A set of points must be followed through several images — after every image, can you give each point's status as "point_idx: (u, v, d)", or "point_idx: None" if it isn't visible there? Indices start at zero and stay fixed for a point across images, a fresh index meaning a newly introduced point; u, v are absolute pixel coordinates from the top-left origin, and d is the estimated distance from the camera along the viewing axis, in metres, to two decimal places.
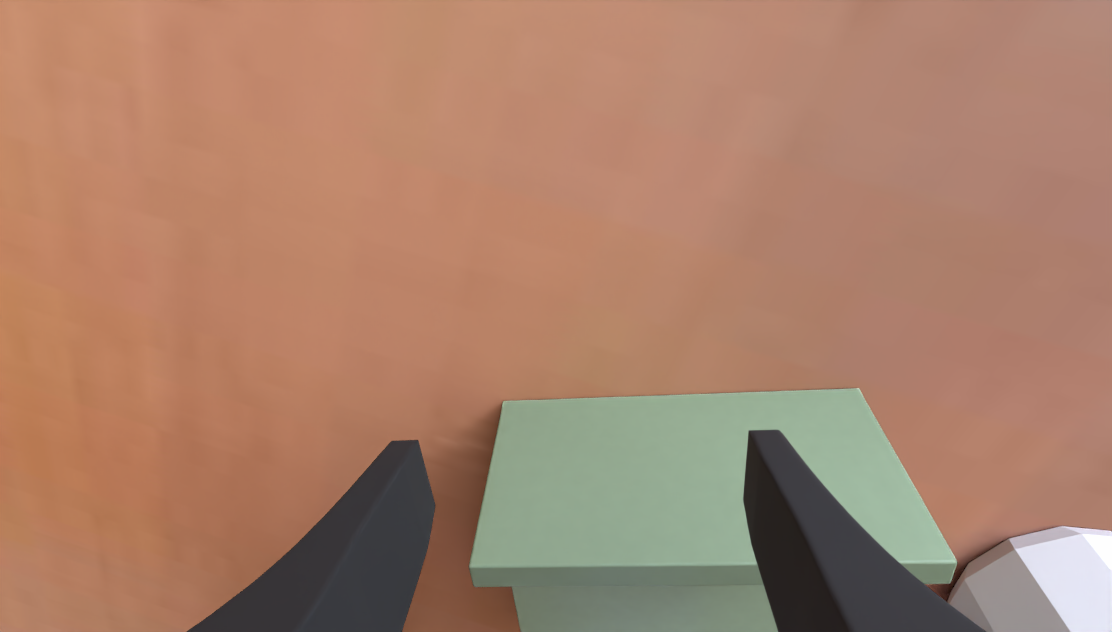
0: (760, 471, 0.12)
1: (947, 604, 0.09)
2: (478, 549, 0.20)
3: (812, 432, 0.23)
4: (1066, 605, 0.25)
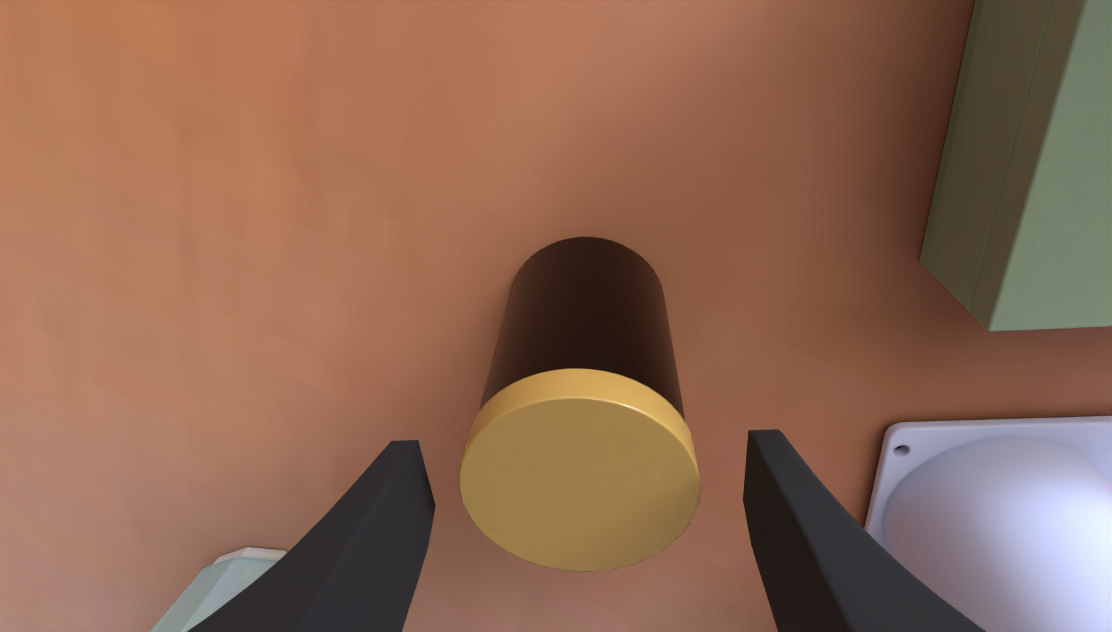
0: (760, 471, 0.12)
1: (947, 604, 0.09)
2: None
3: None
4: None
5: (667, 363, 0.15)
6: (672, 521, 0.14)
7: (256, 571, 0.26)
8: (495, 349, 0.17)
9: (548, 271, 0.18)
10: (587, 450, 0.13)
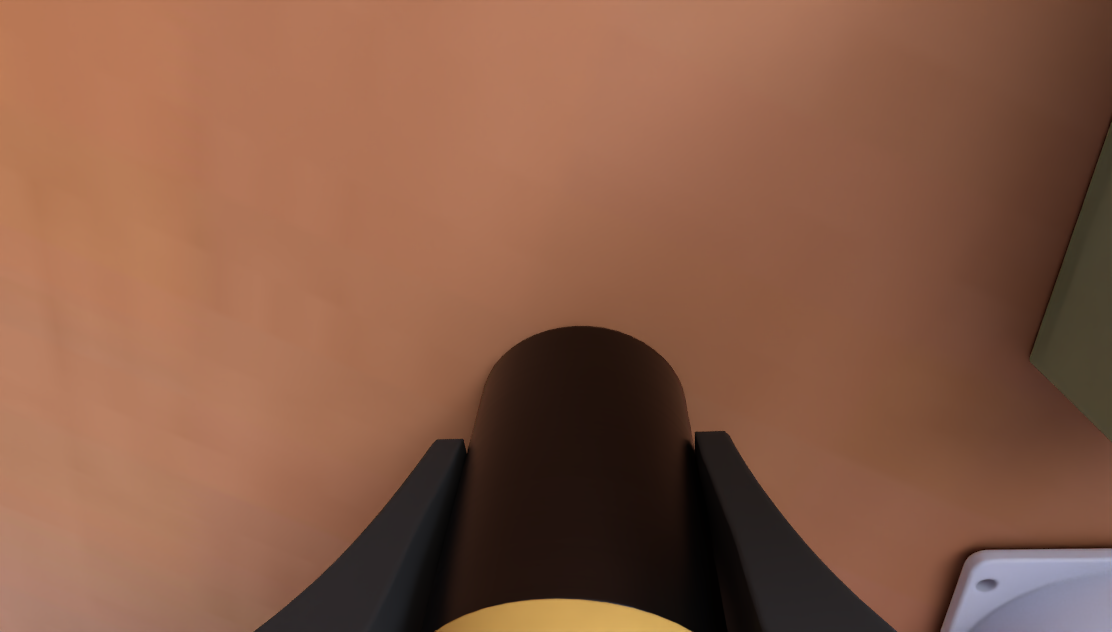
0: (702, 472, 0.12)
1: (863, 604, 0.09)
2: None
3: None
4: None
5: (700, 544, 0.10)
6: None
7: None
8: (455, 500, 0.12)
9: (530, 383, 0.13)
10: None
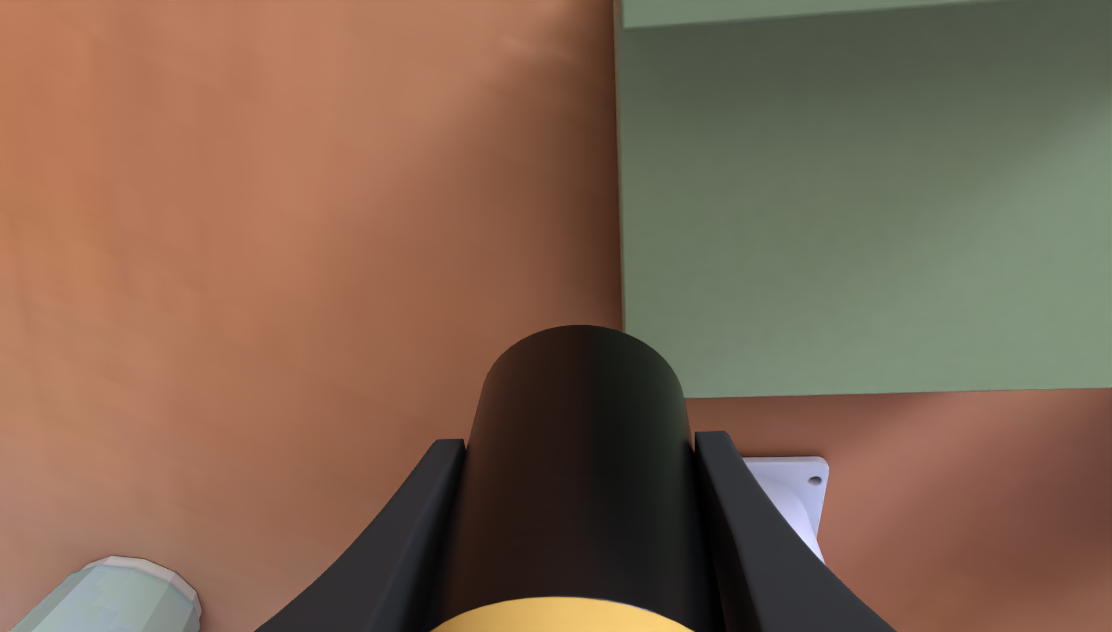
0: (702, 472, 0.12)
1: (862, 604, 0.09)
2: None
3: None
4: None
5: (699, 542, 0.10)
6: None
7: (113, 577, 0.30)
8: (453, 499, 0.12)
9: (529, 381, 0.13)
10: None
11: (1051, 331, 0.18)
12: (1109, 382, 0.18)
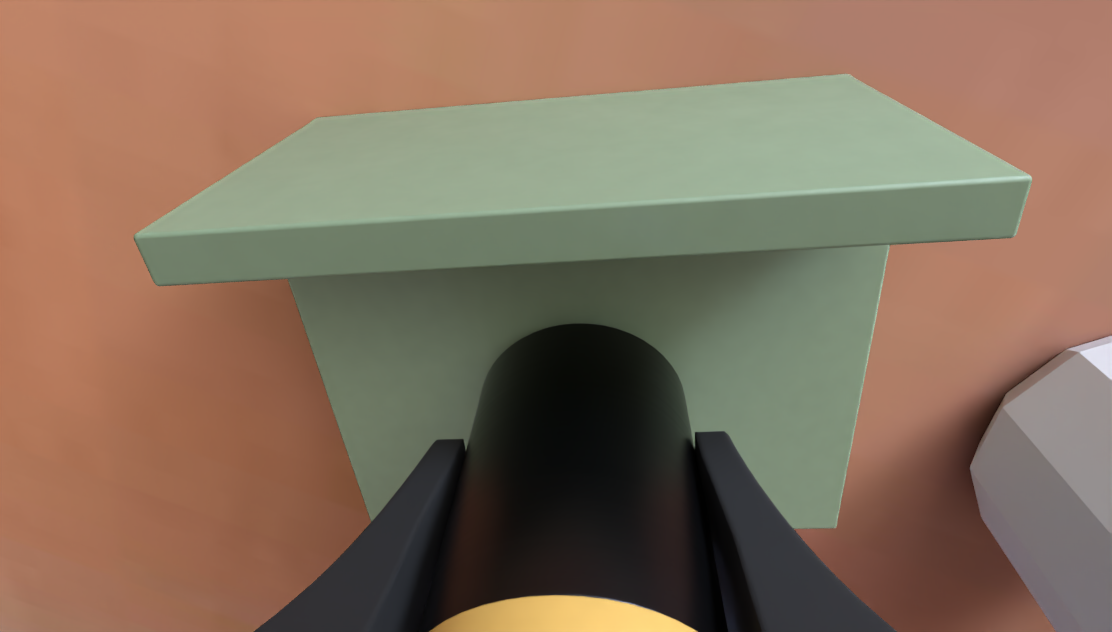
0: (702, 472, 0.12)
1: (862, 604, 0.09)
2: (165, 219, 0.11)
3: (772, 102, 0.14)
4: None
5: (700, 541, 0.10)
6: None
7: None
8: (454, 498, 0.12)
9: (530, 379, 0.13)
10: None
11: (763, 479, 0.18)
12: (832, 524, 0.18)
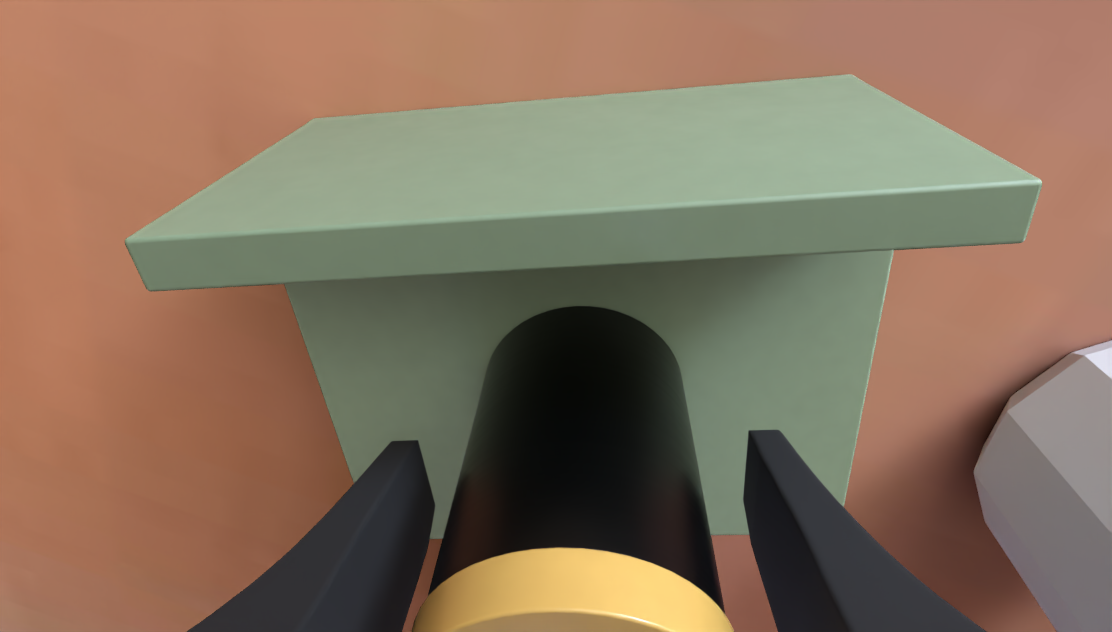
0: (760, 471, 0.12)
1: (947, 604, 0.09)
2: (157, 223, 0.11)
3: (775, 104, 0.14)
4: None
5: (695, 505, 0.11)
6: None
7: None
8: (461, 468, 0.13)
9: (533, 358, 0.13)
10: None
11: None
12: None
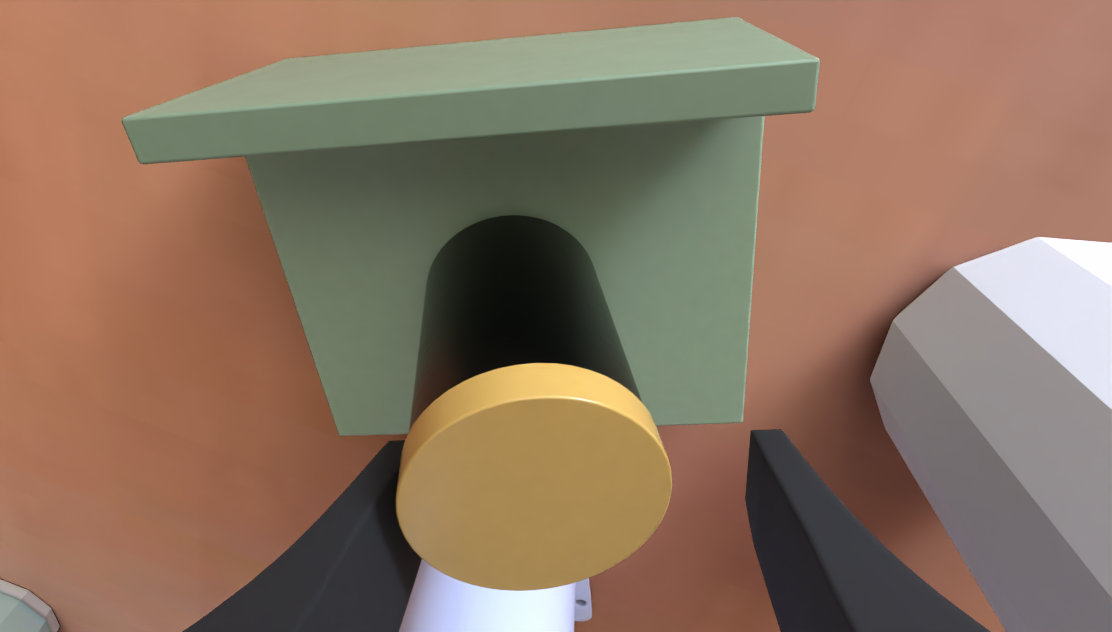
0: (762, 471, 0.12)
1: (951, 604, 0.09)
2: (147, 110, 0.14)
3: (663, 34, 0.17)
4: (1013, 302, 0.18)
5: (617, 346, 0.14)
6: (642, 521, 0.13)
7: None
8: (419, 349, 0.15)
9: (471, 255, 0.16)
10: (546, 456, 0.11)
11: (674, 375, 0.20)
12: (739, 418, 0.21)
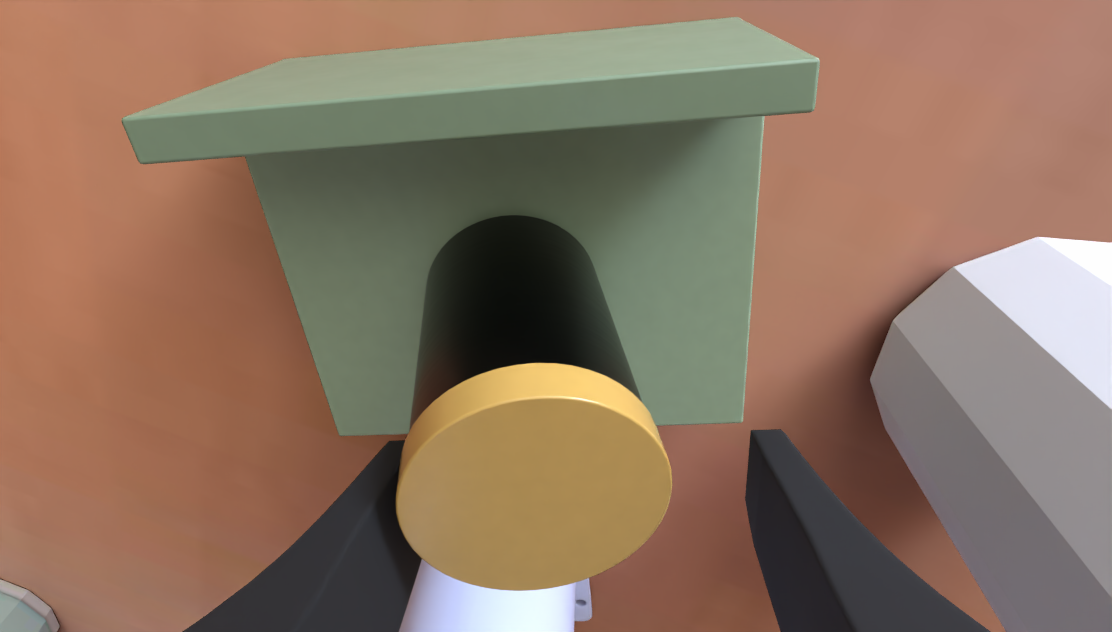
0: (762, 471, 0.12)
1: (951, 604, 0.09)
2: (147, 110, 0.14)
3: (663, 34, 0.17)
4: (1013, 302, 0.18)
5: (617, 346, 0.14)
6: (642, 521, 0.13)
7: None
8: (419, 349, 0.15)
9: (471, 255, 0.16)
10: (546, 456, 0.11)
11: (674, 375, 0.20)
12: (739, 418, 0.21)
